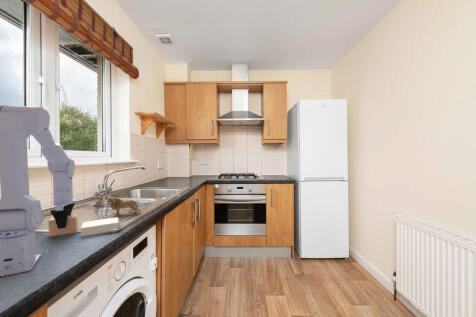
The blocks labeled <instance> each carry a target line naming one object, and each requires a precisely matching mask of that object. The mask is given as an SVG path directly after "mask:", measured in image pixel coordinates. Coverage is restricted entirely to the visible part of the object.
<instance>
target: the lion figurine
mask: <svg viewBox="0 0 476 317" xmlns="http://www.w3.org/2000/svg"><path fill="white" fill-rule="evenodd" d="M106 205H107V207H108V208H111V209H112V210H115V211H116V212H115V213H114V214H115V216H116V217H117V216H119V215H120V211H121V210H120V209H126V208H130V211H129V212H128V213H130V214H131V213H133V211H134V213H133V214H134V215H136V214H138V212H141V210H140V209H139V208H138V205H137V203H136V201H135V200H132V199H129V200H124V201H123V200H121V199H120V198H117V197H114V196H110V197H109V198H107V199H106ZM135 213H136V214H135Z"/></svg>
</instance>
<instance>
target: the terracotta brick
mask: <svg viewBox="0 0 476 317" xmlns="http://www.w3.org/2000/svg"><path fill="white" fill-rule="evenodd" d="M78 230H79V214H78V213H75V214H71V215H68V218H67V224H66V228H61V229H58V227H57V224H56V221H55V219H54V217H53V216H52V217H50V218H49V220H48V237H57V236H62V235H68V234H75V233H78Z"/></svg>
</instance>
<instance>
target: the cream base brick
mask: <svg viewBox="0 0 476 317" xmlns="http://www.w3.org/2000/svg"><path fill="white" fill-rule="evenodd" d="M119 228H120V227H119V217H117V216H116V217H110V218H103V219H102V218H101V219H96V220H88V221H87V220H86V221H83V222H82V225H81V227H80V237H87V236H91V235H98V234H99V235H100V234H104V233H109V232H108V231H110V230H113V229H119Z"/></svg>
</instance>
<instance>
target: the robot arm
mask: <svg viewBox="0 0 476 317" xmlns="http://www.w3.org/2000/svg"><path fill="white" fill-rule="evenodd" d="M50 124H51V117H50V113H49V111H48V110H47V109H46V108H45V107H43V106H26V105H25V106H24V105H22V106H21V105H20V106H19V105H7V104H1V105H0V276H1V277H6V276H9V275H15V274H20V273H25V272H28V271H31V270H32V269H33V267H34V266H35V265H36V264H37V262H38V261H39V259H40V258H41V256H42V254H41V253H39V254H37V253H36V252H37V250H36V230H38V229H39V228H40V227H41V225H42V224H43V221H44V217H45V214H44V211H43V209H42V206H41V201H40V200H39V199H38V198H35V197H33V196H32V195H31V194H30V183H29V182H30V181H29V180H30V178H29V161H28V159H29V158H28V142H27V139H29V137H31V136H32V137H33V138H34V139H35V140H36V141H37V143H38V144H39V145H40V146H41V147H42V148H41V151H40V152H41V154H42V156H44V158H45V160H46V161H47V162H46V163H47V167H48V171H49V172H50V173H51V174H52V192H53V193H52V196H53V197H52V198H53V199H52V200H53V202H52V205H53V206H54V207H55V208H54V209H51V210H50V214H51V216H52V217H54V219H55V221H56V224H57V227H58V229H61V228H66V224H67V218H68V215H72V212H73V209H74V206H75V205H76V203H77V202H78V200H77V199H74V194H73V192H74V191H73V188H74V186H73V177H74V175H75V169H76V164H75V160H74V159H72V158H69V157H68V155H67V153H66V152H65V150H64V148H63V147H62V145H61V144H60V143H56V141H55V140H54V137H53V135H52V133H51V131H50V129H49V128H50ZM5 275H6V276H5Z"/></svg>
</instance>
